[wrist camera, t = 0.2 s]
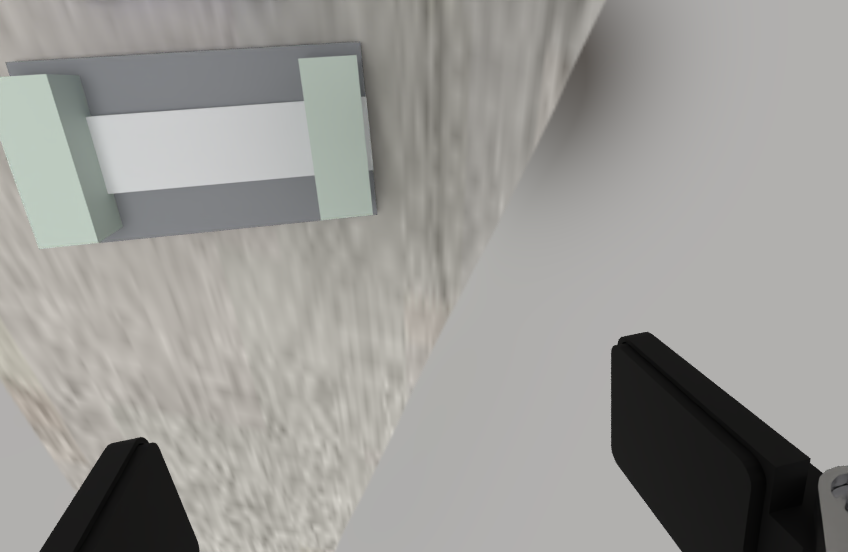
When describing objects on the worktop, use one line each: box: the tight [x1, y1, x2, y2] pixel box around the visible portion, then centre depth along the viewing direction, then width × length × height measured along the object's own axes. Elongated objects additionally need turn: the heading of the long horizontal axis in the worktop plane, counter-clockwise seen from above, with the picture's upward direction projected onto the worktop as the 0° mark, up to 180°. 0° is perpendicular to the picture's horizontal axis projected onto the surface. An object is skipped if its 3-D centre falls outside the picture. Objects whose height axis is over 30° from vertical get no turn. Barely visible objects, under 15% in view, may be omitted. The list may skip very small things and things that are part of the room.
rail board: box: [0, 42, 377, 249], centre depth 34 cm, size 12×22×5 cm, turn 94°
